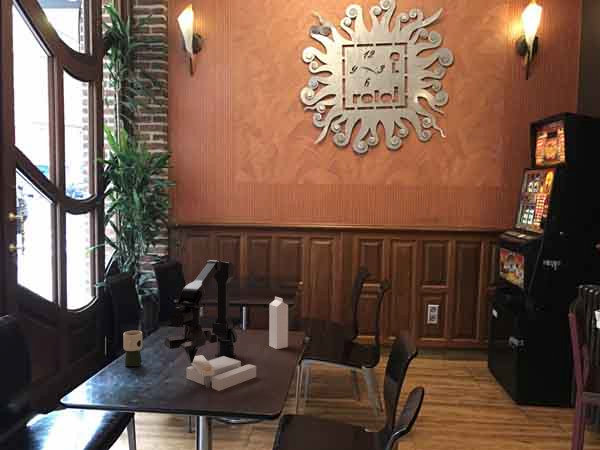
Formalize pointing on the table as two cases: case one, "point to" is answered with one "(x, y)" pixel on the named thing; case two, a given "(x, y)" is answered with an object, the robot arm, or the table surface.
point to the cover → (203, 366)
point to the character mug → (132, 347)
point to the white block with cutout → (221, 378)
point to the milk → (278, 324)
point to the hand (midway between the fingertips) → (191, 363)
